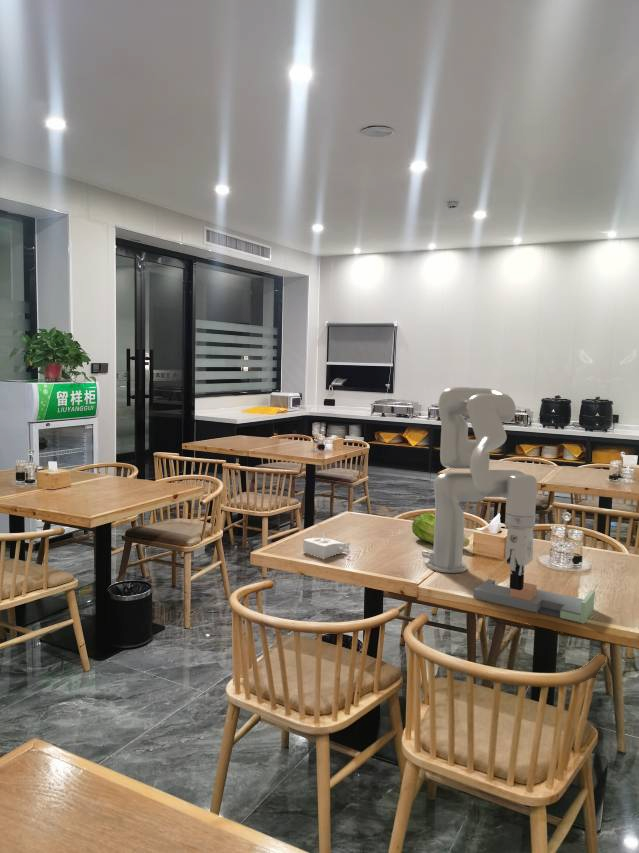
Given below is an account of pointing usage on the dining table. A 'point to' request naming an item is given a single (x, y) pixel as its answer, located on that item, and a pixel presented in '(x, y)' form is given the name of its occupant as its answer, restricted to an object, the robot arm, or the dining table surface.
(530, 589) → the block
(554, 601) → the grey stepped platform
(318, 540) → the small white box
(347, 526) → the dining table surface
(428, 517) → the lettuce
